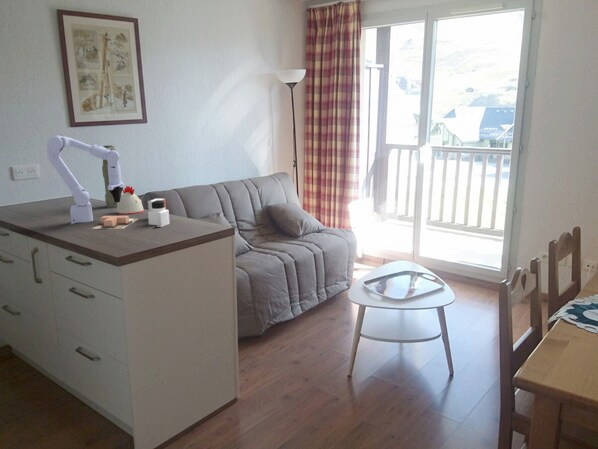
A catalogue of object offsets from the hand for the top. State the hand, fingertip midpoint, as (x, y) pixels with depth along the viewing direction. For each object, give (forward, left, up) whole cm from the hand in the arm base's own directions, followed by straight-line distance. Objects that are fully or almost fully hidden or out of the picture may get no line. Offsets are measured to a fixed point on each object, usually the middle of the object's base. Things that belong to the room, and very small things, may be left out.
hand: (117, 202), depth 238 cm
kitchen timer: (0, +17, -10) cm, 19 cm away
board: (+3, -11, -9) cm, 15 cm away
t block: (+3, -14, -8) cm, 17 cm away
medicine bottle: (+24, -11, -10) cm, 28 cm away
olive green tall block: (-18, +37, -10) cm, 42 cm away
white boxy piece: (+20, 0, -10) cm, 22 cm away
